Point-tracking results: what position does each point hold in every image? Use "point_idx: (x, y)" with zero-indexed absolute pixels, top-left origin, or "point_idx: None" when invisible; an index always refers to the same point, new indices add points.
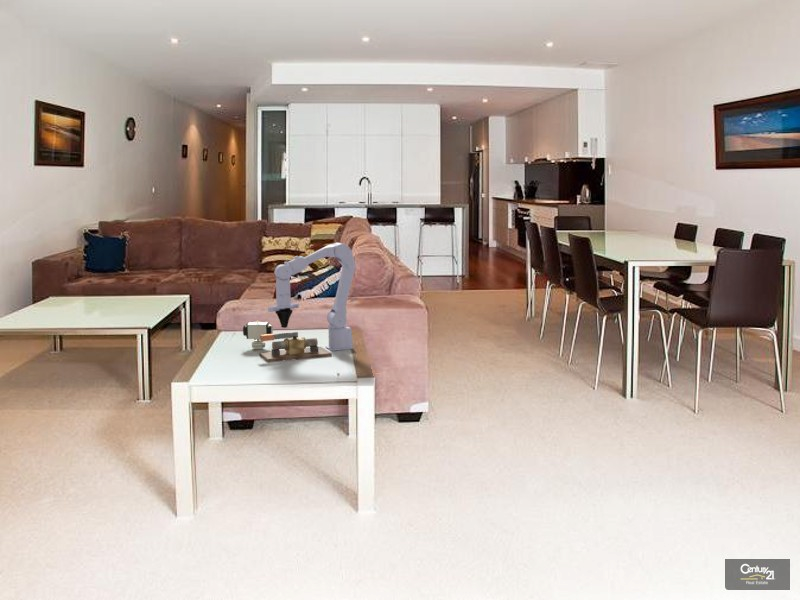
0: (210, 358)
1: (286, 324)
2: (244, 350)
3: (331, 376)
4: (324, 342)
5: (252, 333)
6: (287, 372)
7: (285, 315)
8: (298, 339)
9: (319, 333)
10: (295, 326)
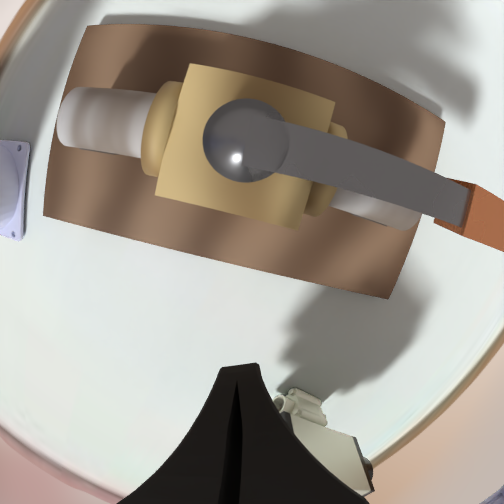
0: (487, 335)
1: (234, 384)
2: (352, 400)
3: None
4: (14, 330)
5: (345, 451)
6: None
7: (282, 482)
8: (229, 98)
9: (27, 424)
10: (78, 486)
